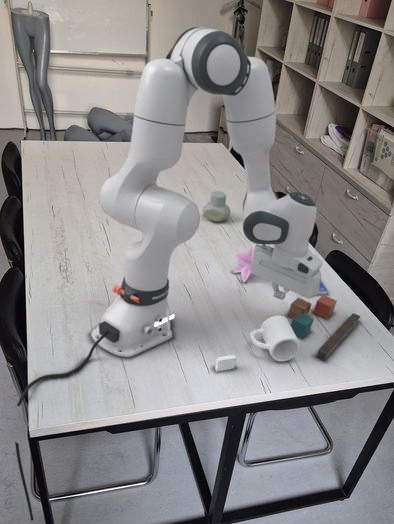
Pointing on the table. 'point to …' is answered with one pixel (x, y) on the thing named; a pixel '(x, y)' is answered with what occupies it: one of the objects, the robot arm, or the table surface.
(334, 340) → the straightedge
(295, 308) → the oak block
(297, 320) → the teal block
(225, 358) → the eraser
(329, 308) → the terracotta block
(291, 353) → the mug
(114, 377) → the table surface
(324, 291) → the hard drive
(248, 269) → the lily
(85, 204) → the table surface
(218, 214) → the air freshener
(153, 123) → the robot arm
